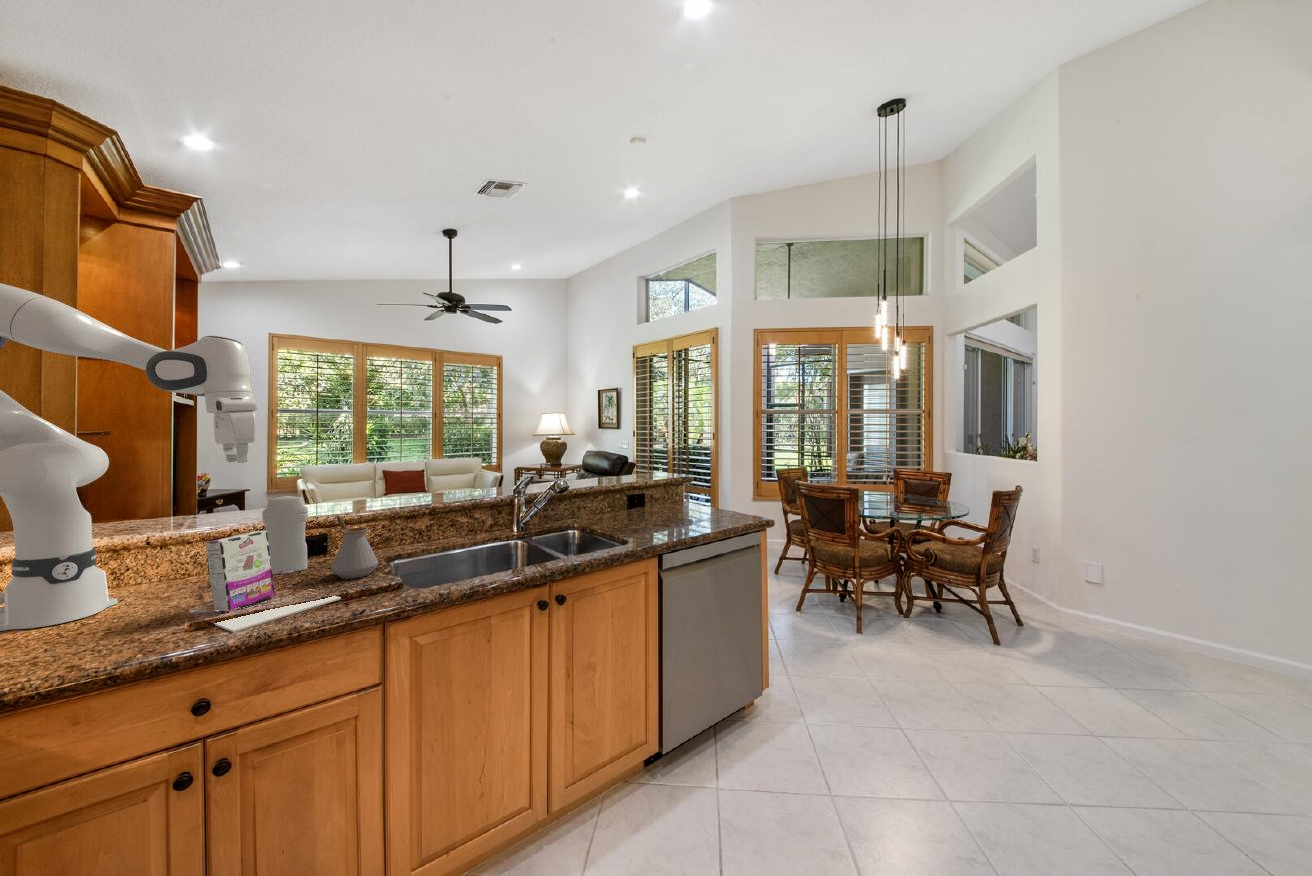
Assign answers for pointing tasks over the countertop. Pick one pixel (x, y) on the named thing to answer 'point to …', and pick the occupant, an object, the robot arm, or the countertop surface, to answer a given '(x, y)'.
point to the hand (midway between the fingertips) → (236, 462)
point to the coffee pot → (354, 554)
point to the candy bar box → (240, 570)
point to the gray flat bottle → (286, 534)
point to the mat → (270, 615)
